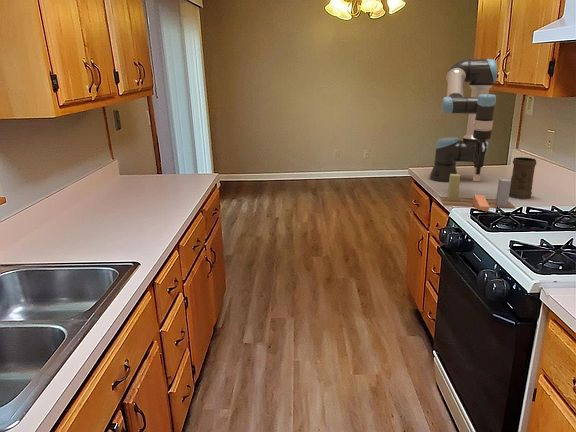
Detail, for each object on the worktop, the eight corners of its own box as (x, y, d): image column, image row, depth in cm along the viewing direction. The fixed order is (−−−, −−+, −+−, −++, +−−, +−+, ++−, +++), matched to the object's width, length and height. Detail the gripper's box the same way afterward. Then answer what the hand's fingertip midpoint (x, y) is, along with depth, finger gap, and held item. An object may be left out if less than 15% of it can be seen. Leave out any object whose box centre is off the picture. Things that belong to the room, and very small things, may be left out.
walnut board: (438, 199, 221) (438, 196, 221) (506, 201, 216) (507, 199, 216) (443, 208, 207) (443, 205, 207) (516, 211, 202) (516, 208, 202)
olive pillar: (447, 198, 218) (449, 173, 214) (456, 198, 218) (458, 174, 214) (448, 200, 214) (451, 175, 211) (457, 201, 214) (460, 176, 210)
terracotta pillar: (474, 194, 207) (479, 206, 197) (483, 195, 206) (489, 206, 196) (472, 202, 209) (478, 214, 198) (482, 202, 208) (487, 214, 198)
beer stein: (534, 202, 215) (540, 160, 210) (510, 201, 217) (515, 159, 212) (524, 196, 230) (530, 156, 225) (502, 195, 232) (507, 155, 227)
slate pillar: (495, 204, 208) (499, 178, 205) (504, 204, 208) (508, 179, 204) (497, 207, 205) (501, 180, 201) (507, 207, 204) (511, 181, 200)
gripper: (471, 127, 213) (465, 176, 220) (477, 131, 201) (470, 183, 208) (488, 127, 212) (481, 177, 219) (495, 132, 199) (487, 184, 207)
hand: (476, 180), depth 214 cm, fingers closed
